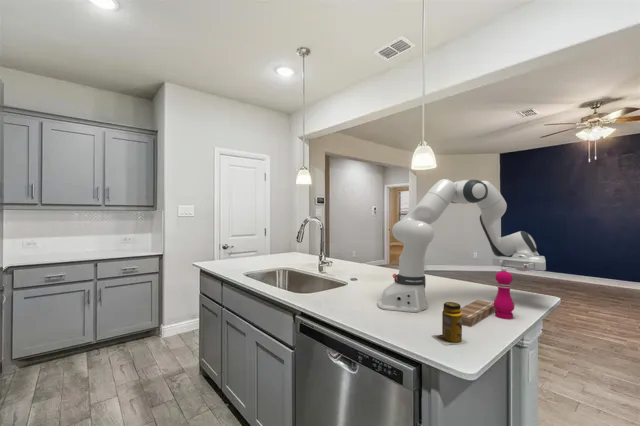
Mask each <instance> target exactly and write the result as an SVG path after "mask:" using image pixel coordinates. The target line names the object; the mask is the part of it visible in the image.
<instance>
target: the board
mask: <svg viewBox="0 0 640 426" xmlns="http://www.w3.org/2000/svg"><path fill="white" fill-rule="evenodd" d="M460 309H461V313H462V326H465V327H468V328H472V327H473V326H475V325H476V324H478V323H480V322H481V321H483V320H484V319H486V318H487V317H489V316H491V315H493V313H494V314H495V311H496V308H495V307H494V302H491V301H490V302H489V301H485V300H481V299H480V300H479V299H476V300H474V301H472V302H470V303H468V304H465V305H464V306H462V307H461V308H460Z"/></svg>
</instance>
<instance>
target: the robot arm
mask: <svg viewBox="0 0 640 426" xmlns="http://www.w3.org/2000/svg"><path fill="white" fill-rule="evenodd" d="M450 204H461V205H462V204H464V205H466V204H476V205H477V206H478V208H479V209H480V212H481V214H480V215H479V223H480V226H481V227H482V230H483V232H484V234H485V236H486V238H487V241H488V243H489V245H490V248H491V252H492V253H493V255H494V257H492V265H493V266H499V267H507V268H514V269H515V270H516V271H519V272H527V271H528V272H531V271H536V272H537V271H538V272H540V271H543V272H544V271H547V265H546V264H547V263H546V257H545V256H544V255H540V254H539V253H538V251H537V249H538V247H537V243H536V241H535V239H534V237H533V236H532V234H530V233H529V232H527V231H523V230H520V231H517V232H514V233H511V234H508V235H505V236H500V237H498V235H497V233H496V231H495V229H494V226H493V225H494V224H495V223H496V222H497V221H498V220H499V219H501V218H502V217H503V216H504V214H505V213H506V211H507V208H508V206H507V205H508V204H507V202H506V200H505V198H504V197H503V195H502V194H501V192H500V191H499V190H498V189H497V188H496V186H494V185H493V184H492V183H491V182H489V181H488V180H478V179H462V180H457V181H452V180H450V179H447V178H443V179H439V180H438V181H437V182H436V183H435V184H434V185H432V186H431V188H429V190H428V191H426V194H424V196H423V197H422V199H421V200H420V201H419V202H418V203H417V204H416V206H414V208H412V209H411V210H410V211H409V212H408V213H407V214H406V215H405V216H403V218H402V219H400V220H399V221H397V222H395V224H393V226H392V229H391V232H392V236H393V237H394V238H395V240H397V241H398V242H400V243H403V246H402V247H403V248H402V251H401V254H400V255H399V257H398V274H396V273H393V274H392V278H393V279H394V280H393V281H394V282H393V283H391V284H389V286H386V288H384V289H383V292H382V295H381V298H379V299H377V301H376V305H377V307H378V308H379V309H381V310H386V311H387V310H389V311H399V312H407V313H408V312H410V313H419V312H420V311H424V310H427V309H428V308H429V305H428V302H427V296H426V287H427V286H426V281H427V279H426V275H425V261H426V259H425V258H426V253H427V249H428V246H429V245H430V243H431V242H432V241H433V238H435V237H434V235H435V234H434V229H433V227H432V225H431V224H432V223H435V222H436V221H437V220H439V218H440V217H441V216H442V215H443V213H444V212H445V210H446V209H447V208H448V207H449V205H450Z"/></svg>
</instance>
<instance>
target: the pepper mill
mask: <svg viewBox="0 0 640 426" xmlns="http://www.w3.org/2000/svg"><path fill="white" fill-rule="evenodd" d="M495 280H496V287H497V294H496V296H495V298H494V301H493V303H494V307H495V308H496V311H495V312H494V315H495V317H497V318H499V319H504V320H511V319H513V318H514V313H513V311H514V310H515V304H514V301H513V298H512V295H511V288H512V284H511V283H512V282H513V275H512V274H511V273H510V272H508V271H507V268H506V267H501V269H500V271H498V272H496V274H495Z"/></svg>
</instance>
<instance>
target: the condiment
mask: <svg viewBox="0 0 640 426" xmlns="http://www.w3.org/2000/svg"><path fill="white" fill-rule="evenodd" d="M460 308H462V307H461V304H460V303H458V302H452V301H446V302H443V310H442V312H441V313H442V314H441V315H442V316H441V318H442V321H441V322H442V323H441V326H442V327H441V328H442V331H441V332H442V334H438V335H437V334H434V335H433V334H432V335H431V337H433V338H434V339H436V340H437V341H438V342H439V341H440V343H441V344H443V345H444V346H447V345H449V346H450V345H457V344H458V345H459V344H466V343H468V341H466V340H465V339H463V337H462V336H463V325H462V313H461V309H460Z"/></svg>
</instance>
